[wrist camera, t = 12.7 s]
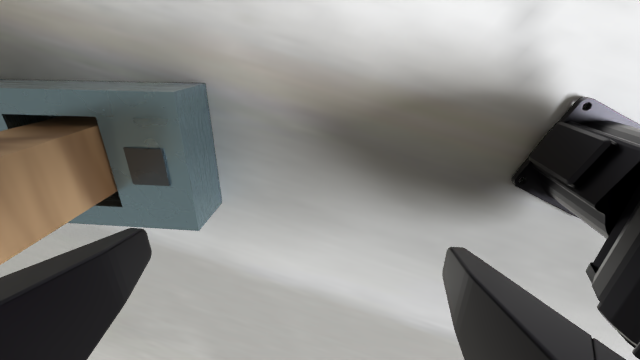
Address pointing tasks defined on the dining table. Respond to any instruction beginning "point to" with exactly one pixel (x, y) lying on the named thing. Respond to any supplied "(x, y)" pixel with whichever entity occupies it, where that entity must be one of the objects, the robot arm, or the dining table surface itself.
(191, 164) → the socket block
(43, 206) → the wooden square peg
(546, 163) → the robot arm
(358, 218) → the dining table surface
